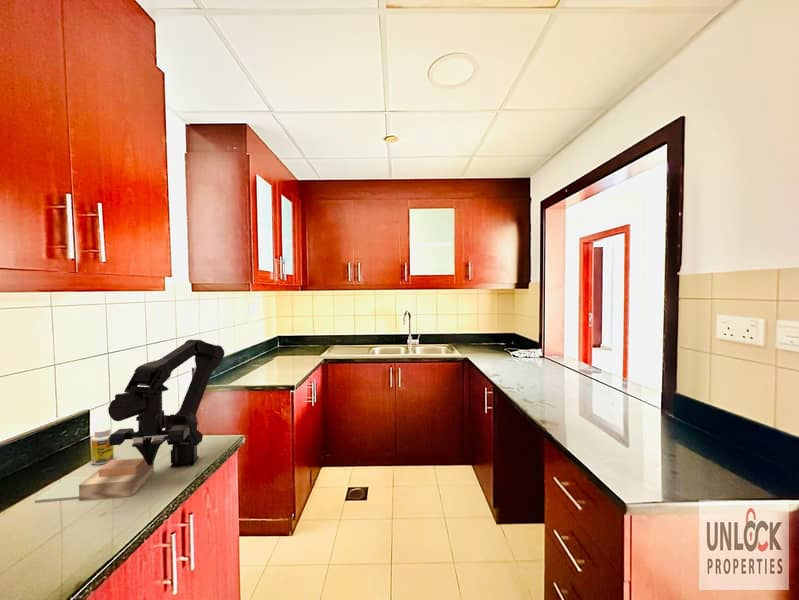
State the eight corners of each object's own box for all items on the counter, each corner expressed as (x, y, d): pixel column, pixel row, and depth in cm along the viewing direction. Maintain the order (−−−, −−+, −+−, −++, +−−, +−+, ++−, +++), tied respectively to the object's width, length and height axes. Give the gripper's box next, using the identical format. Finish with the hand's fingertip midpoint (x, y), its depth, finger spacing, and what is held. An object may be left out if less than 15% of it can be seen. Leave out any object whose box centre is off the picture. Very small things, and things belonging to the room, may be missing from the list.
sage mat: (104, 477, 112) (104, 475, 112) (79, 498, 101) (79, 496, 101) (65, 480, 110) (65, 478, 110) (34, 502, 99) (34, 500, 99)
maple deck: (153, 472, 116) (153, 458, 116) (130, 495, 102) (130, 480, 102) (108, 475, 113) (108, 461, 113) (79, 500, 100) (79, 485, 100)
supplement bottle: (95, 467, 119) (94, 434, 119) (89, 462, 122) (88, 430, 122) (116, 460, 123) (116, 429, 123) (110, 456, 127) (109, 425, 127)
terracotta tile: (145, 464, 112) (145, 457, 112) (135, 474, 106) (135, 466, 106) (110, 467, 110) (110, 460, 110) (98, 477, 104) (98, 469, 104)
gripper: (195, 400, 119) (195, 451, 119) (127, 403, 115) (127, 456, 115) (182, 411, 108) (182, 466, 108) (107, 415, 104) (107, 472, 104)
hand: (150, 464), depth 109 cm, fingers closed
